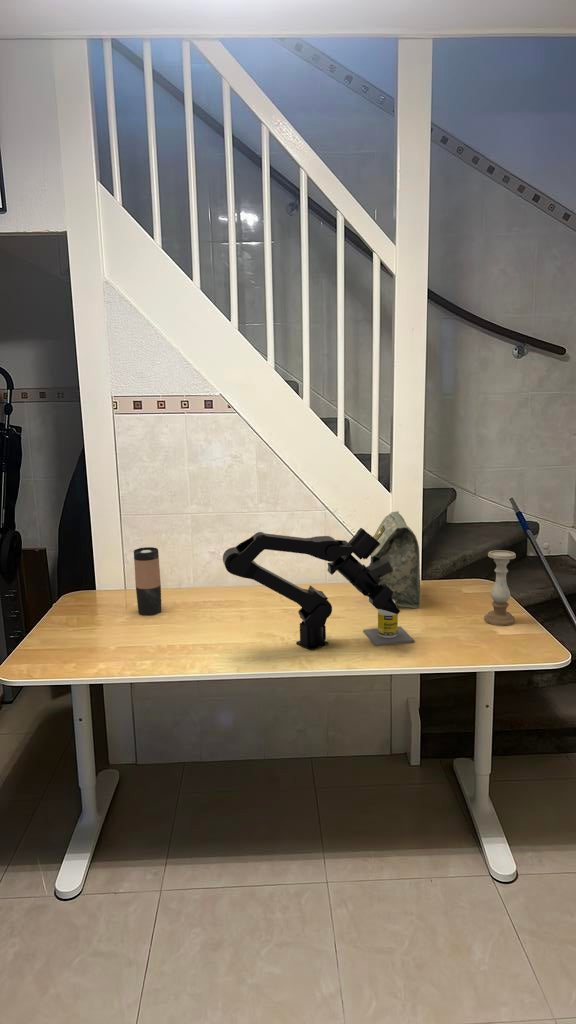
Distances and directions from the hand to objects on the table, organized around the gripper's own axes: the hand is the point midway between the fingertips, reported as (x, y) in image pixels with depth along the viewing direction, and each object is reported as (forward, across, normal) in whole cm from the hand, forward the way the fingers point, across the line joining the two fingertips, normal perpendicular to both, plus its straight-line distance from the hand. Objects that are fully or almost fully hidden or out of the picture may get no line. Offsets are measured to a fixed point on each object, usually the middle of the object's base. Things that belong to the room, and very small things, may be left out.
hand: (393, 607), depth 189 cm
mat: (+5, 0, +7) cm, 8 cm away
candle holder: (+30, +4, -18) cm, 35 cm away
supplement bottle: (+4, 0, +7) cm, 8 cm away
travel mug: (-41, +39, +53) cm, 77 cm away
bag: (+14, +32, -2) cm, 35 cm away
